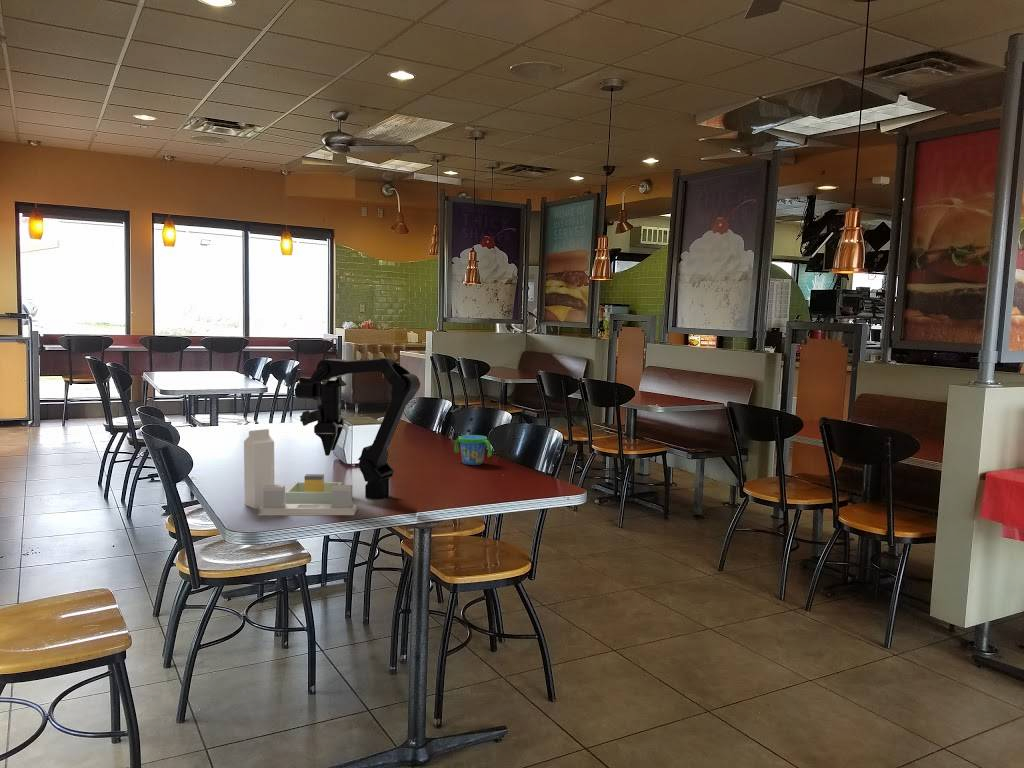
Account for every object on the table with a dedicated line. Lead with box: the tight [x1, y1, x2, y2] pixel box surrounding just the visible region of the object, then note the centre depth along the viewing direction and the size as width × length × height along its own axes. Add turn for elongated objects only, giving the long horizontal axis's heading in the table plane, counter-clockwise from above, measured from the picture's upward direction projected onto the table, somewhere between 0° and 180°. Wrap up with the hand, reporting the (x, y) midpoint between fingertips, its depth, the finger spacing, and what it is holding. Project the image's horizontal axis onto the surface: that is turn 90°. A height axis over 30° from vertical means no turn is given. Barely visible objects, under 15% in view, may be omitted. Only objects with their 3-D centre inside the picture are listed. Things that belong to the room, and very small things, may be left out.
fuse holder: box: [257, 503, 358, 516], centre depth 204 cm, size 25×7×2 cm, turn 94°
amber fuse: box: [304, 473, 325, 492], centre depth 218 cm, size 5×3×7 cm, turn 93°
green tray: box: [285, 481, 343, 504], centre depth 218 cm, size 14×14×4 cm
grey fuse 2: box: [332, 484, 353, 508], centre depth 204 cm, size 5×3×7 cm, turn 94°
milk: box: [243, 428, 275, 509], centre depth 210 cm, size 6×6×22 cm
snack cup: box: [453, 434, 493, 466], centre depth 282 cm, size 16×10×10 cm
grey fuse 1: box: [263, 484, 286, 508], centre depth 203 cm, size 5×3×7 cm, turn 94°
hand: (329, 452), depth 227 cm, fingers open, 9 cm apart
